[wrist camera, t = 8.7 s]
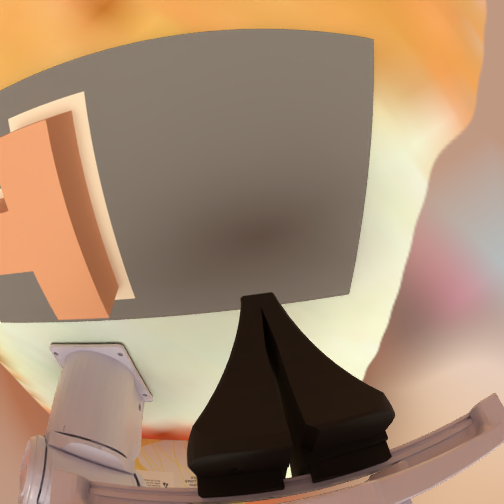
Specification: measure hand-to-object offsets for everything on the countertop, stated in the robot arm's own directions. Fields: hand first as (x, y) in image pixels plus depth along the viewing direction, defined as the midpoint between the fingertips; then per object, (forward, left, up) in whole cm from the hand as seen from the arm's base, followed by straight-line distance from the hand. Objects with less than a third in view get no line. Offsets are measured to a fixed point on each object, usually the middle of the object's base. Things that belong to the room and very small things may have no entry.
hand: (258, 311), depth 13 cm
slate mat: (+3, +8, -7) cm, 11 cm away
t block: (+3, +15, -7) cm, 16 cm away
